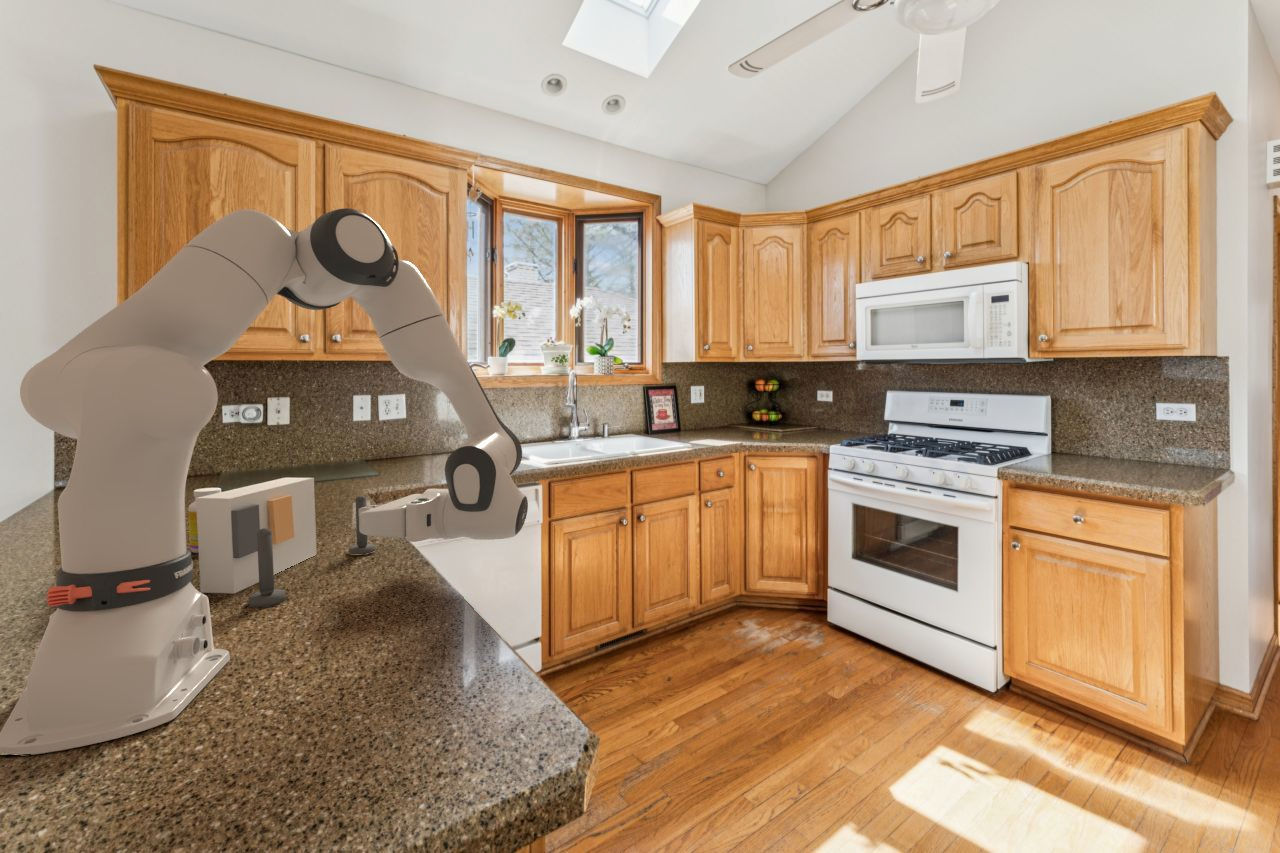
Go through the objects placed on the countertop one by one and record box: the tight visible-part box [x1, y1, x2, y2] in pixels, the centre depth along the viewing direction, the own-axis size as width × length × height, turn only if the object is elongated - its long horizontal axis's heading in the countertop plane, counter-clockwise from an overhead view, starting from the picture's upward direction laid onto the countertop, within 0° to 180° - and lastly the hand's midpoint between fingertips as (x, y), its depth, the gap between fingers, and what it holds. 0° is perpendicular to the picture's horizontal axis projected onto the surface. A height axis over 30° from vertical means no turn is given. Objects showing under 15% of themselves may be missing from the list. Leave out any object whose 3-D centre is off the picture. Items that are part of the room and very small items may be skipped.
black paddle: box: [231, 505, 260, 558], centre depth 100 cm, size 1×5×8 cm, turn 176°
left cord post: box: [247, 528, 287, 609], centre depth 94 cm, size 5×5×12 cm
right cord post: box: [348, 494, 376, 554], centre depth 122 cm, size 5×5×12 cm
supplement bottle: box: [187, 487, 222, 554], centre depth 123 cm, size 7×7×13 cm
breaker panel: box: [196, 477, 317, 594], centre depth 108 cm, size 6×22×16 cm, turn 176°
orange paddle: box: [268, 495, 294, 545], centre depth 108 cm, size 1×5×8 cm, turn 175°
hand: (362, 511), depth 106 cm, fingers closed
